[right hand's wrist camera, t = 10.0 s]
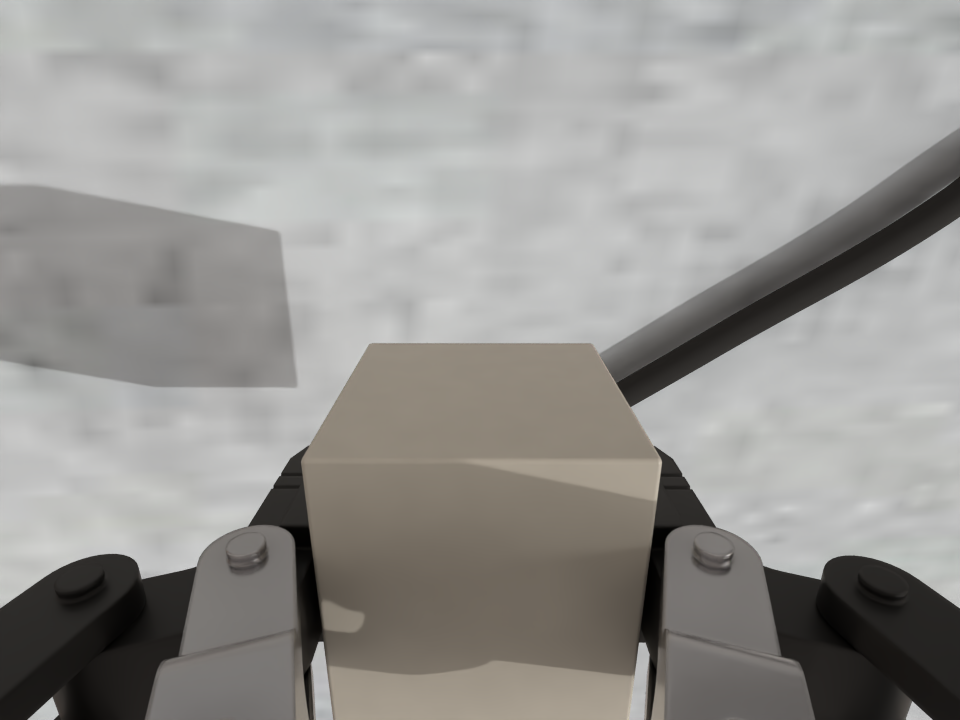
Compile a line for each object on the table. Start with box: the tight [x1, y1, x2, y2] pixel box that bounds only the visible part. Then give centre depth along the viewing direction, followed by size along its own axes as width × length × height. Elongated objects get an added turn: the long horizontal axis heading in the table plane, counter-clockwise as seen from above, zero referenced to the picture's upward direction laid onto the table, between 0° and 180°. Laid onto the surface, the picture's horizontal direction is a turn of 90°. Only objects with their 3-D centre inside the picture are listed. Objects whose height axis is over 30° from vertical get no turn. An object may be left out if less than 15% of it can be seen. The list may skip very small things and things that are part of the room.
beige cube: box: [301, 343, 662, 720], centre depth 10 cm, size 5×5×5 cm
